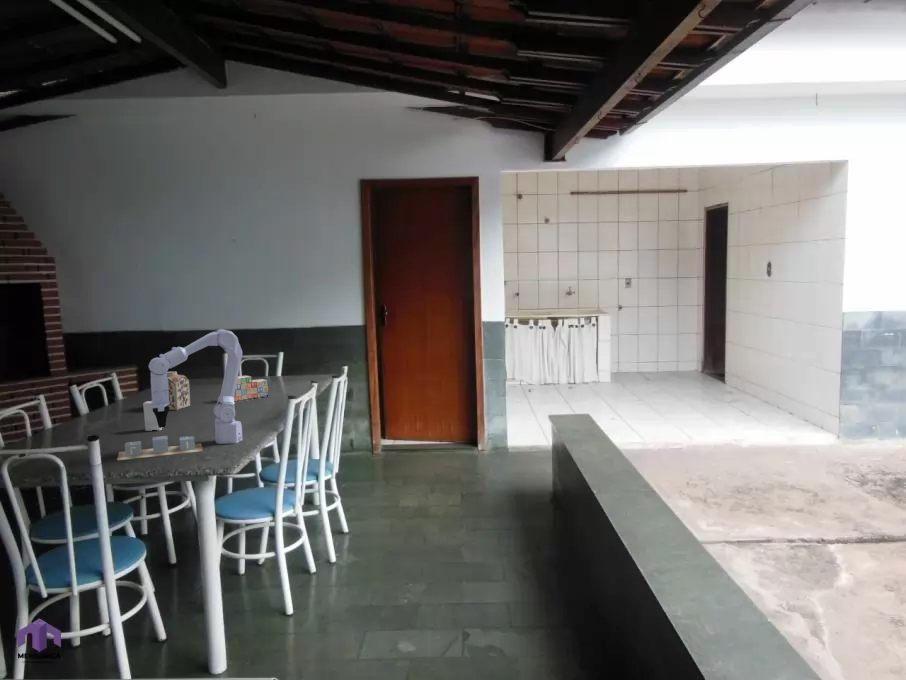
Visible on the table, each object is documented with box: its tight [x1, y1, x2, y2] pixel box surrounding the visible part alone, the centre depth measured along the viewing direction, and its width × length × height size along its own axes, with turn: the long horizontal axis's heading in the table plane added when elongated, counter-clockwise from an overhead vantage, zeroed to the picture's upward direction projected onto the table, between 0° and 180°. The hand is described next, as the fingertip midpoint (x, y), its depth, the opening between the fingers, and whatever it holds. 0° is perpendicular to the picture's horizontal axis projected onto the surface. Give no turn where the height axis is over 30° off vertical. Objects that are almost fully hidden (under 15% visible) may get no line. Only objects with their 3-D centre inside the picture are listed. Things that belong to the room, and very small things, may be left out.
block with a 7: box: [124, 440, 142, 457], centre depth 235 cm, size 5×5×4 cm
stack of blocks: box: [234, 375, 269, 401], centre depth 344 cm, size 21×6×12 cm, turn 134°
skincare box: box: [142, 400, 164, 432], centre depth 276 cm, size 6×4×12 cm
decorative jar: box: [167, 371, 191, 411], centre depth 323 cm, size 12×12×18 cm
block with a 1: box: [179, 435, 196, 451], centre depth 242 cm, size 5×5×4 cm
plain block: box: [152, 435, 169, 454], centre depth 239 cm, size 5×5×5 cm
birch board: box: [116, 443, 203, 461], centre depth 239 cm, size 28×12×1 cm, turn 114°
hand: (162, 427), depth 240 cm, fingers closed
